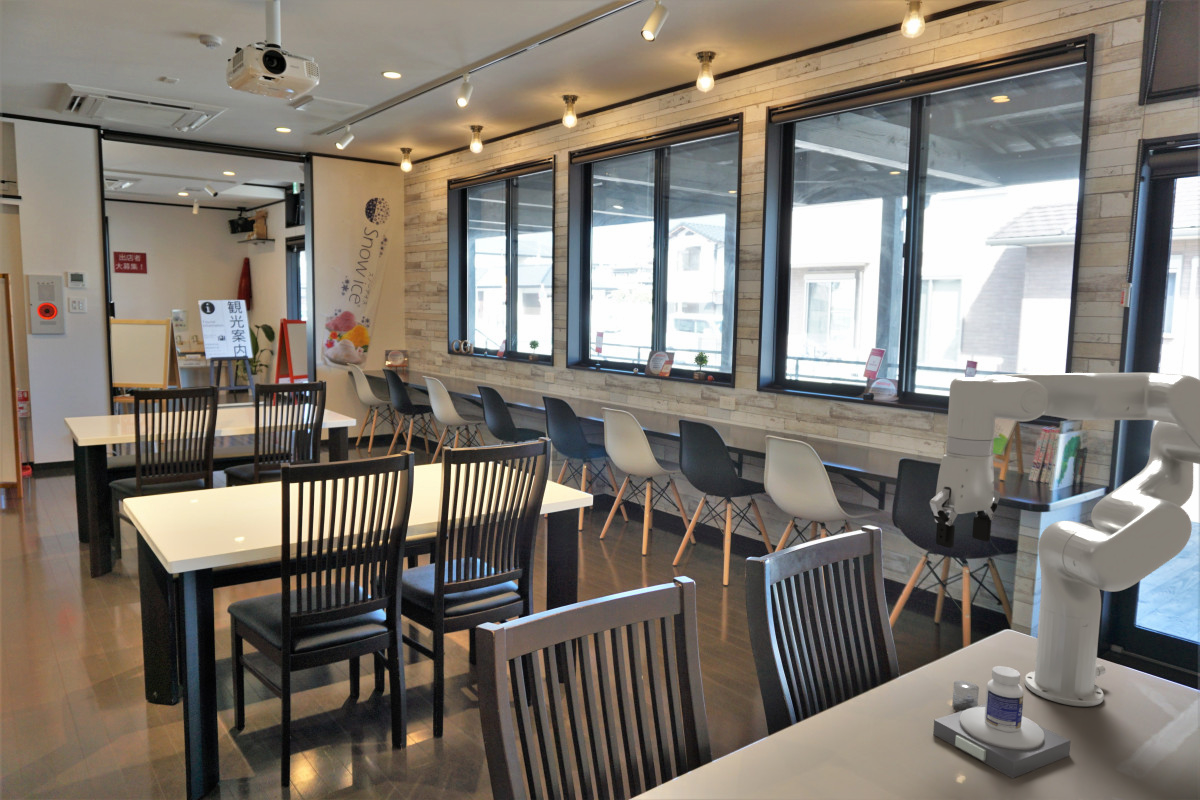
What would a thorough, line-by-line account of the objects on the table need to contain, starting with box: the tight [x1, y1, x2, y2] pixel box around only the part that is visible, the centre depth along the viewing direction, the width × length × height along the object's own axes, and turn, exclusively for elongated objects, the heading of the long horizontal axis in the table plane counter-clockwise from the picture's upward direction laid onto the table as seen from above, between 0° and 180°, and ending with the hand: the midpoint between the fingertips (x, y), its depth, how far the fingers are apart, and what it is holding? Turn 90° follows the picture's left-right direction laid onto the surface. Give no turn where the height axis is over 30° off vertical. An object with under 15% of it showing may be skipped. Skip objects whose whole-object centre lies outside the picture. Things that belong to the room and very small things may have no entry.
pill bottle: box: [985, 665, 1024, 732], centre depth 127 cm, size 5×5×9 cm
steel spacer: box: [951, 680, 980, 712], centre depth 140 cm, size 4×4×4 cm
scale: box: [932, 702, 1071, 779], centre depth 127 cm, size 14×14×3 cm
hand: (963, 542), depth 142 cm, fingers open, 9 cm apart
